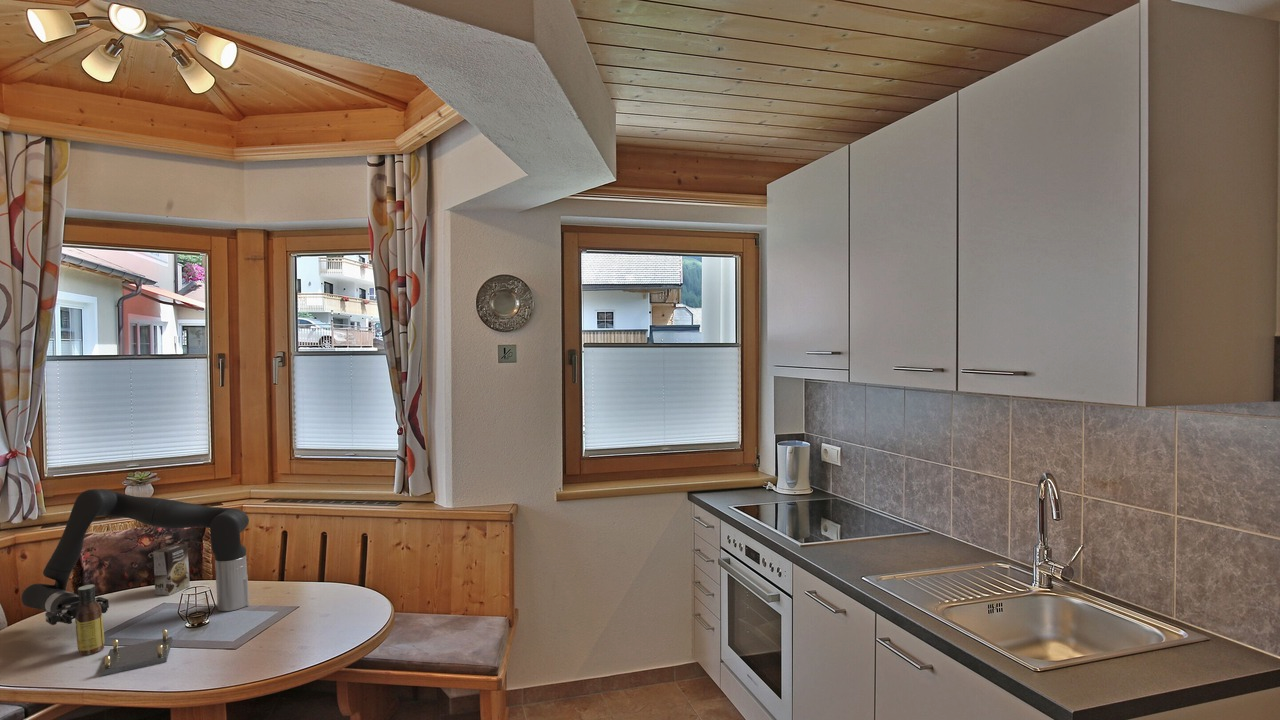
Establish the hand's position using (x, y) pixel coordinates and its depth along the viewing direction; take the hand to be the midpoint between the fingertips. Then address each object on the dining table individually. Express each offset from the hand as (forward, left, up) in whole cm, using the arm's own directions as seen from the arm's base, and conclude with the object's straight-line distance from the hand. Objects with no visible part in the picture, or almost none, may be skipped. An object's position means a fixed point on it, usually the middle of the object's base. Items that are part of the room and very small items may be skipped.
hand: (88, 614), depth 202 cm
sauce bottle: (0, +1, -11) cm, 11 cm away
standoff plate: (-13, +14, -11) cm, 22 cm away
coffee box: (-16, -45, -11) cm, 49 cm away
